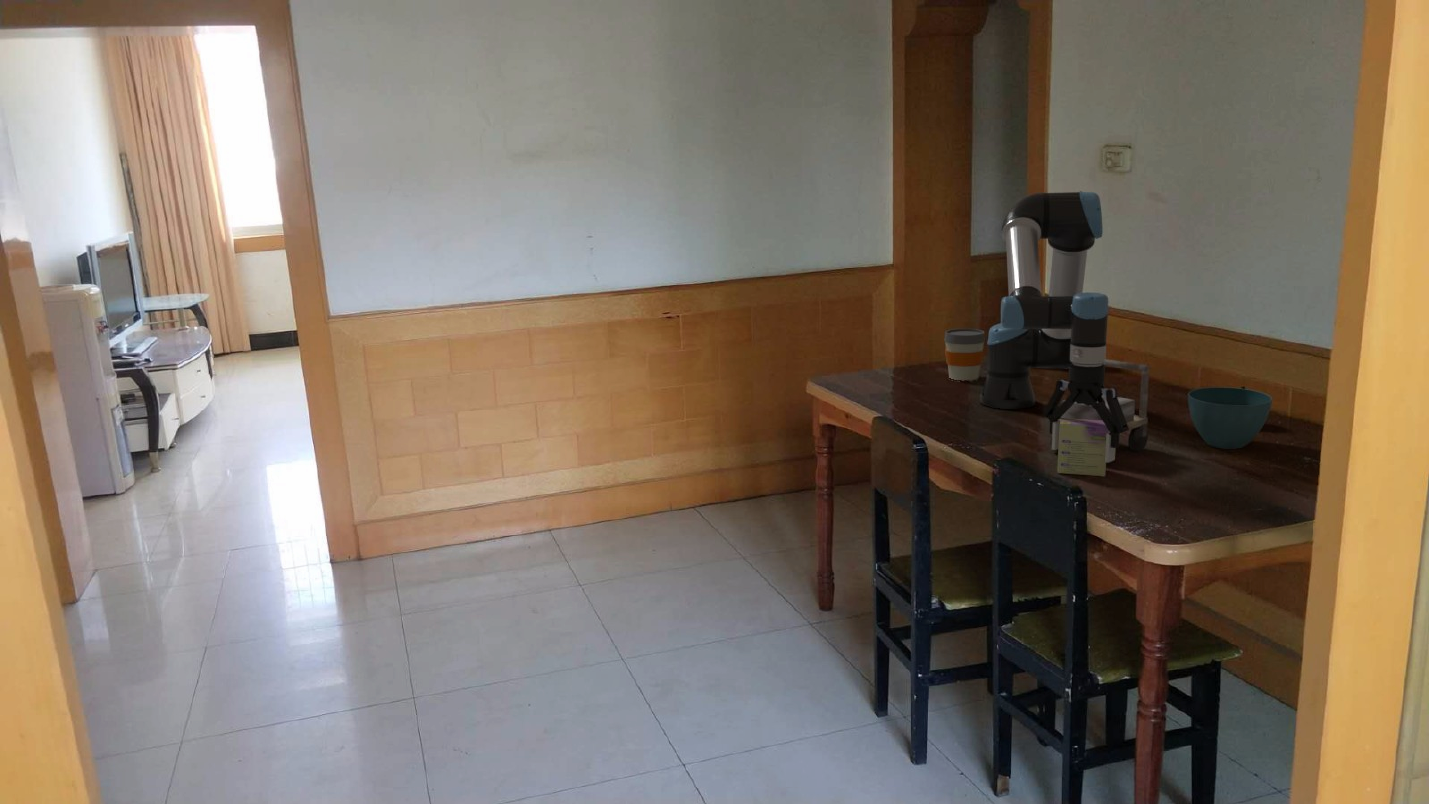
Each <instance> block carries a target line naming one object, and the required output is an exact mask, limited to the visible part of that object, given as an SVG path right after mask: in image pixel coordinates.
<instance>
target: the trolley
mask: <svg viewBox="0 0 1429 804" xmlns="http://www.w3.org/2000/svg"><path fill="white" fill-rule="evenodd" d="M1102 364H1104V366H1105V367H1111V368H1118V369H1125V370H1131V371H1135V372H1136V371H1137V372H1141V376H1140V377H1141V380H1140V393H1139V394H1140V395H1139V407H1138V408H1139V409H1138V410H1139V412H1138V415H1137V414H1135V409H1136V408H1135V406H1136V399H1132V398H1126V397H1125V398H1124V397H1120V396H1117V398H1118V401H1119V404H1120V406H1121V409H1122V412H1123V414H1124V417H1125V420H1126V422H1127V425H1128V427H1129V430H1128V431H1130V432H1129V434H1128V440H1127V443H1128V447H1129V449H1130V450H1132V451H1136V452H1141V451H1143V450H1144V448H1145V447H1146V446H1147V442H1148V441H1149V439H1148V438H1149V432H1148V422H1149V421H1148V418H1149V417H1147V409H1148V398H1149V397H1148V396H1149V381H1150V370H1151V367H1150V365H1147V364H1141V363H1134V362H1126V361H1121V360H1120V361H1119V360H1114V359H1107V358H1106V360H1105V362H1104V363H1102ZM1104 396H1105V395H1104V394H1103V395H1102V398H1103V399H1104V401H1105V403H1106V404H1105V405H1106V406H1107V408H1108V410H1109V411H1110V409H1109V406H1108V404H1107V400H1106V398H1105V397H1104ZM1064 401H1065V399H1063V400H1062V399H1061V400H1060V405H1061V404H1062V403H1063V402H1064ZM1097 403H1098V401H1097ZM1110 413H1111V412H1110ZM1060 418H1068V419H1085V420H1102V419H1101V417H1100V416H1099V414H1098V413H1097V411H1096V410H1095V409H1094V408H1093V407H1092V406H1091V405H1089V406H1088V405H1085V404H1077V402H1075V403H1074V404H1073V405H1072V406H1071V407H1070V408H1069V409H1068V410H1067V411H1066V412H1065V413H1064V414H1063V415H1062V416H1061V417H1060ZM1059 420H1061V419H1058V421H1059ZM1108 433H1110V431H1109V430H1108ZM1049 443H1050V449H1051V450H1052V435H1051V437H1050V442H1049ZM1116 450H1117V447H1116V448H1115V453H1116ZM1052 451H1053V452H1054V453H1058V449H1056V450H1052ZM1110 463H1111V462H1106V465H1108V464H1110Z"/></svg>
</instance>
